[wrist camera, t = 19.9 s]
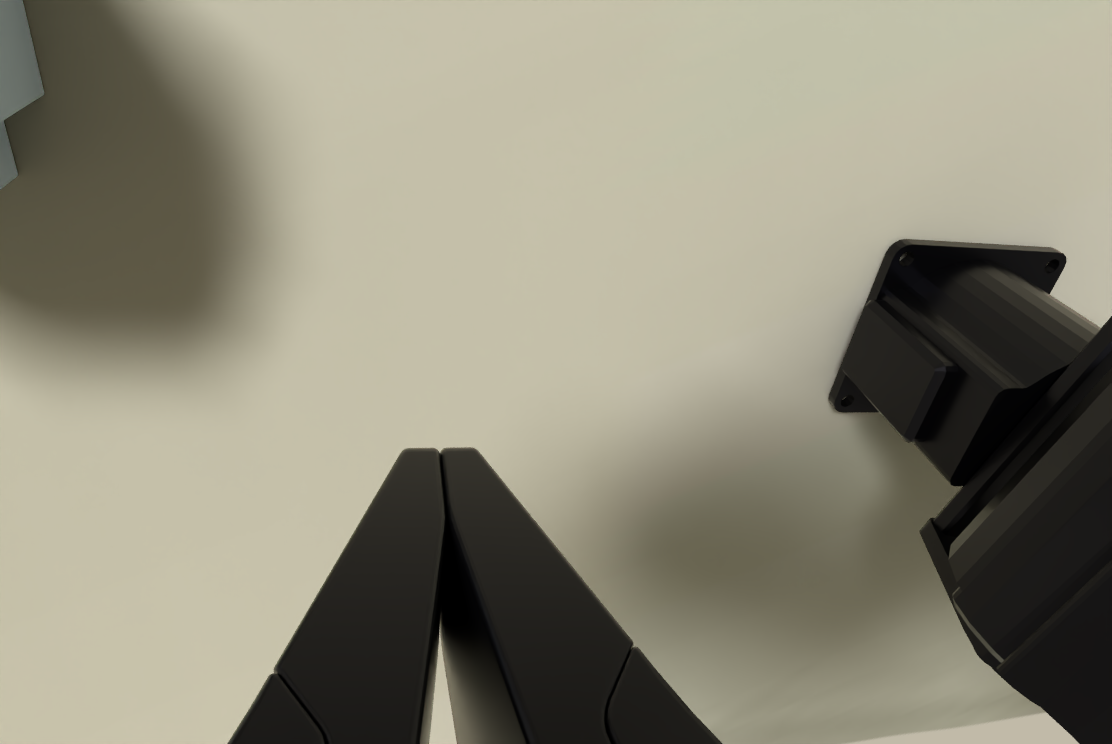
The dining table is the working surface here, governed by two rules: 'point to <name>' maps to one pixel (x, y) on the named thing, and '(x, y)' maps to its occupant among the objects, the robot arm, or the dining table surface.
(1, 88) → the lever frame
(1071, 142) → the dining table surface
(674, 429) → the dining table surface
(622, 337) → the dining table surface
